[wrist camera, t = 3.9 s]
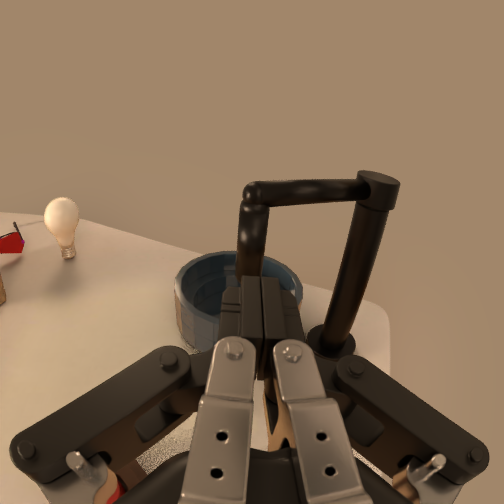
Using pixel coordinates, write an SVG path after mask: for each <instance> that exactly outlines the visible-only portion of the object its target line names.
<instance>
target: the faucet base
mask: <svg viewBox="0 0 504 504" xmlns="http://www.w3.org/2000/svg"><path fill="white" fill-rule="evenodd" d="M388 214H389V210H379V209H374V208H371V207H368V206H365V205H363V204H361V203H359V202H357V201H356V204H355V209H354V213H353V218H352V222H351V226H350V230H349V234H348V239H347V243H346V247H345V250H344V254H343V258H342V262H341V266H340V269H339V273H338V277H337V280H336V284H335V287H334V291H333V294H332V298H331V301H330V305H329V308H328V311H327V315H326V318H325V321H324V324H321V325H318V326H315V327H314V328H312V329H311V330H310V332H309V333H308V336H307V340H306V344H307V345H308V346H309V347H310V348H311V349H312V351H313V354H315V355H316V356H318V357H320V358H323V359H326V360H330V361H334V362H338V361H339V359H340V358H342V357H344V356H346V355H353V353H354V351H355V348H356V343H355V340H354V338H353V336H352V335H351V334H350V330H351V327H352V325H353V322H354V320H355V317H356V314H357V312H358V309H359V306H360V303H361V301H362V298H363V295H364V292H365V289H366V286H367V283H368V280H369V277H370V274H371V271H372V268H373V265H374V262H375V259H376V255H377V252H378V249H379V245H380V242H381V239H382V235H383V232H384V228H385V225H386V221H387V217H388Z"/></svg>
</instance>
